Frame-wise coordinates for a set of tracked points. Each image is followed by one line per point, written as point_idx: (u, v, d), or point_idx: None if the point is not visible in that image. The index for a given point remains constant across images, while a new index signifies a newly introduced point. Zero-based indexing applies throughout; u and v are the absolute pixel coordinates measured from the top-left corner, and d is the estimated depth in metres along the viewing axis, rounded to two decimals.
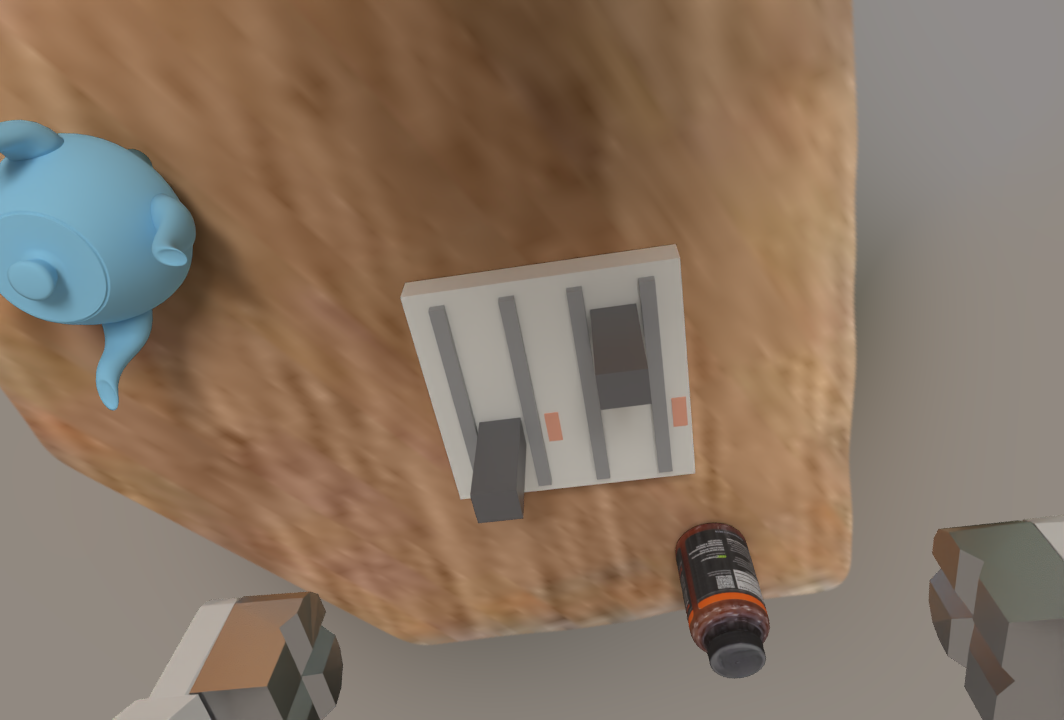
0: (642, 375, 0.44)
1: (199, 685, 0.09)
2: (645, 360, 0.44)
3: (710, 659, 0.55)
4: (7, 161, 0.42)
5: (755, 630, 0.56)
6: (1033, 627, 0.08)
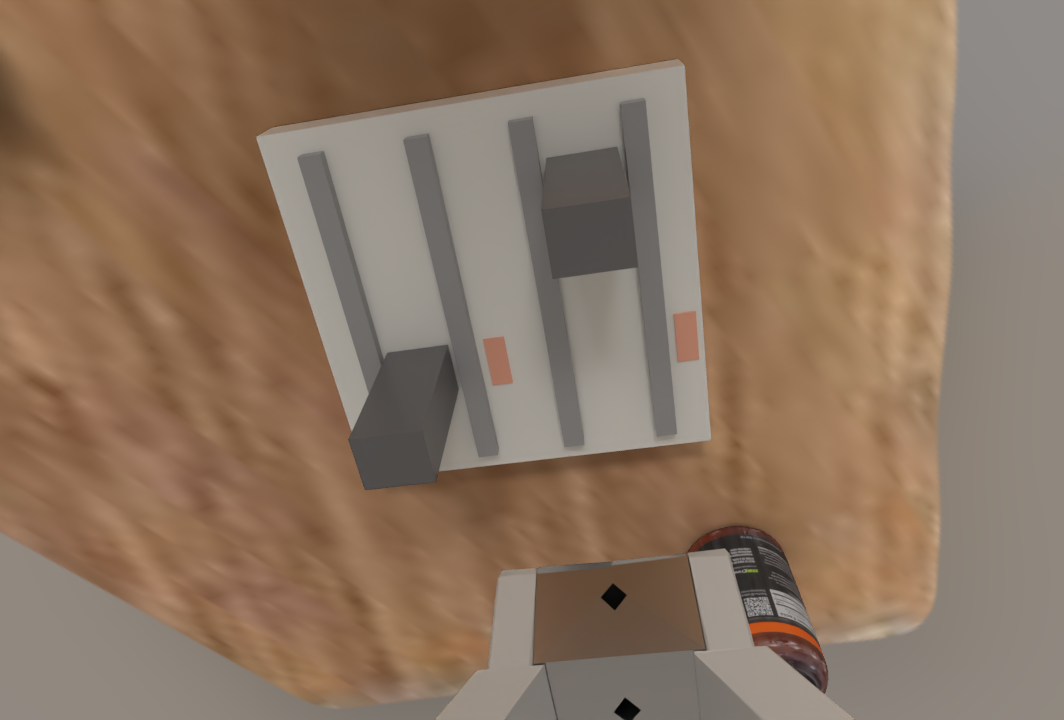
0: (621, 211, 0.26)
1: (540, 655, 0.08)
2: (626, 190, 0.26)
3: None
4: None
5: None
6: (643, 660, 0.08)
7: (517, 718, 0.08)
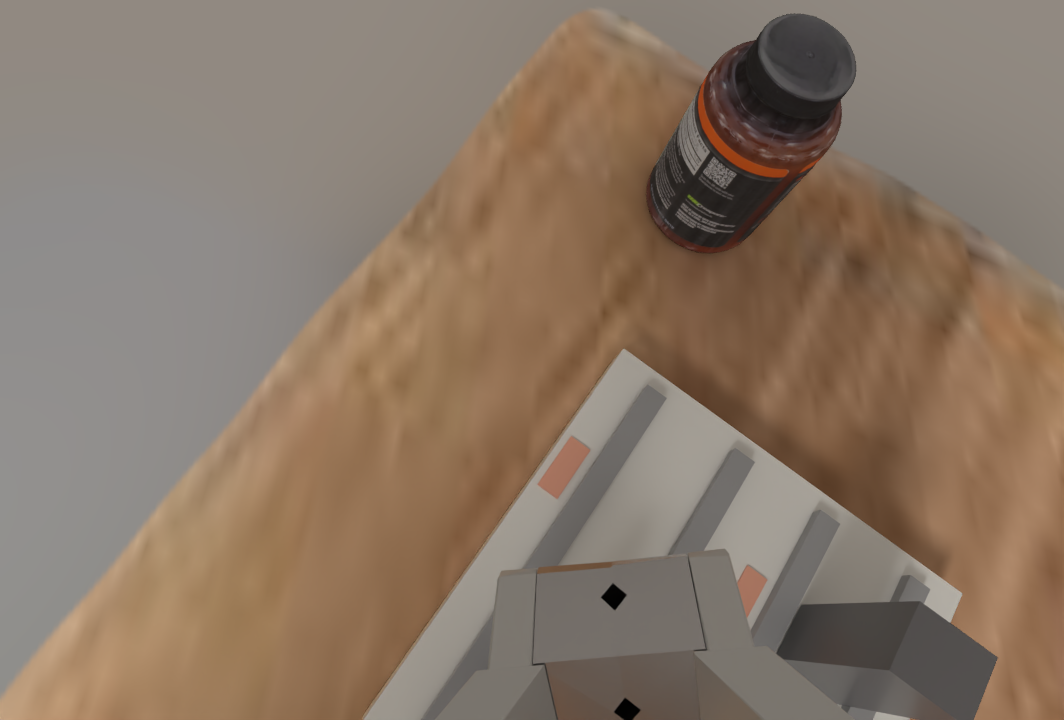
0: None
1: (540, 656, 0.08)
2: None
3: (845, 92, 0.29)
4: None
5: (741, 79, 0.30)
6: (643, 660, 0.08)
7: (517, 718, 0.08)
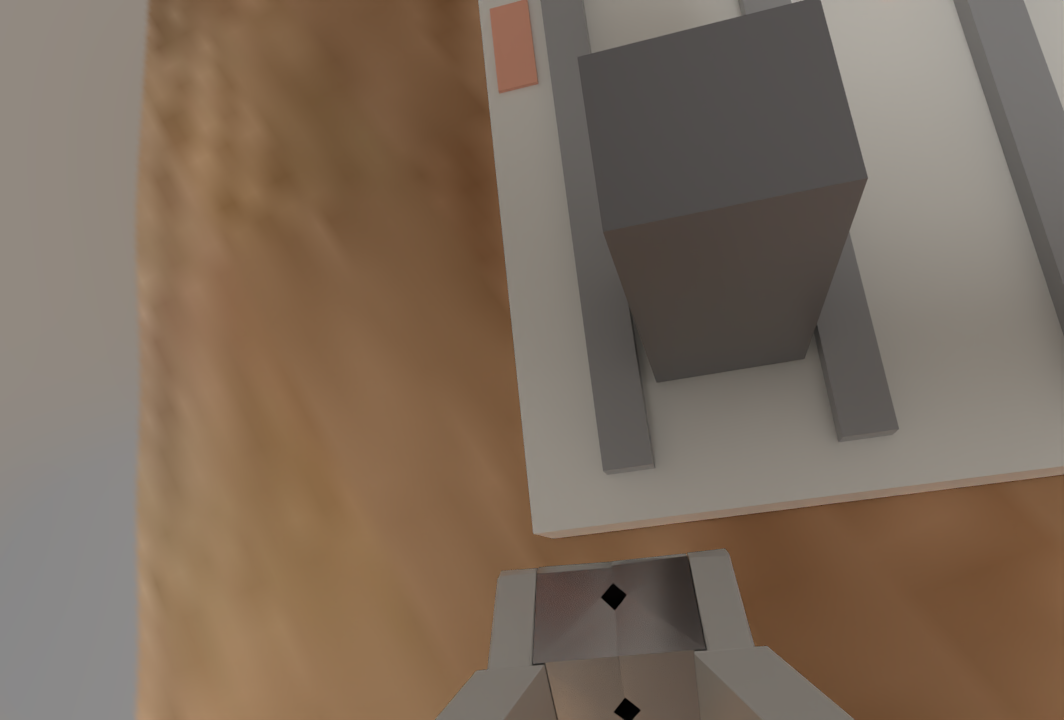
0: (626, 192, 0.09)
1: (540, 656, 0.08)
2: (617, 258, 0.10)
3: None
4: None
5: None
6: (643, 660, 0.08)
7: (517, 718, 0.08)
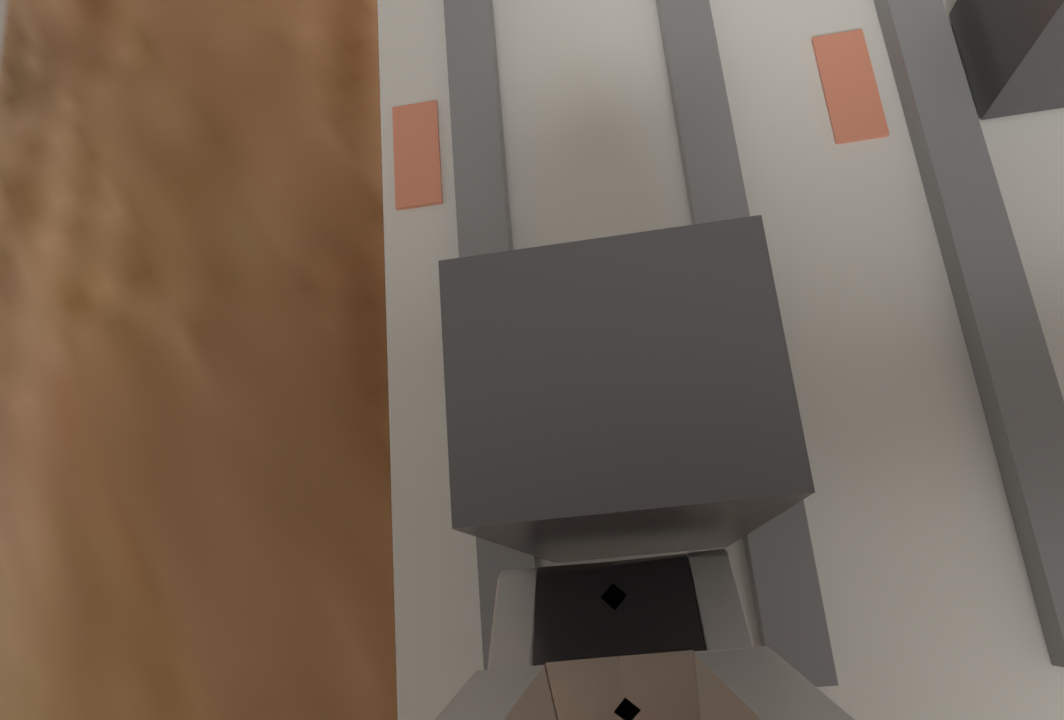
0: (487, 471, 0.07)
1: (540, 655, 0.08)
2: (480, 535, 0.07)
3: None
4: None
5: None
6: (643, 660, 0.08)
7: (517, 718, 0.08)
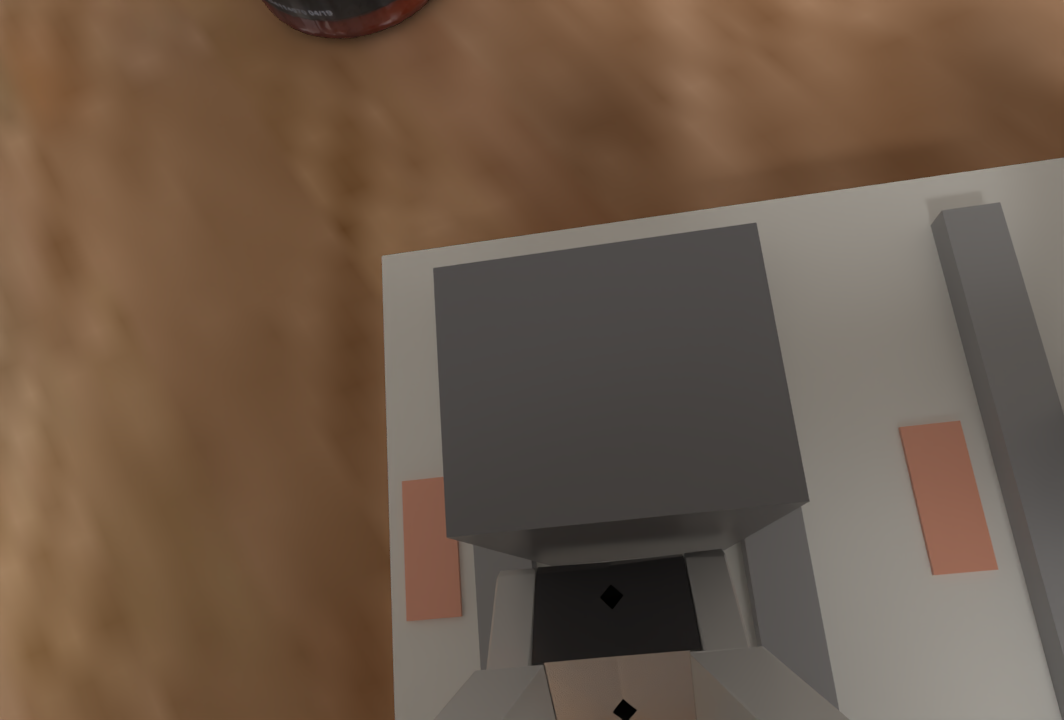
0: (482, 480, 0.07)
1: (538, 655, 0.08)
2: (475, 543, 0.07)
3: None
4: None
5: None
6: (639, 660, 0.08)
7: (516, 718, 0.08)
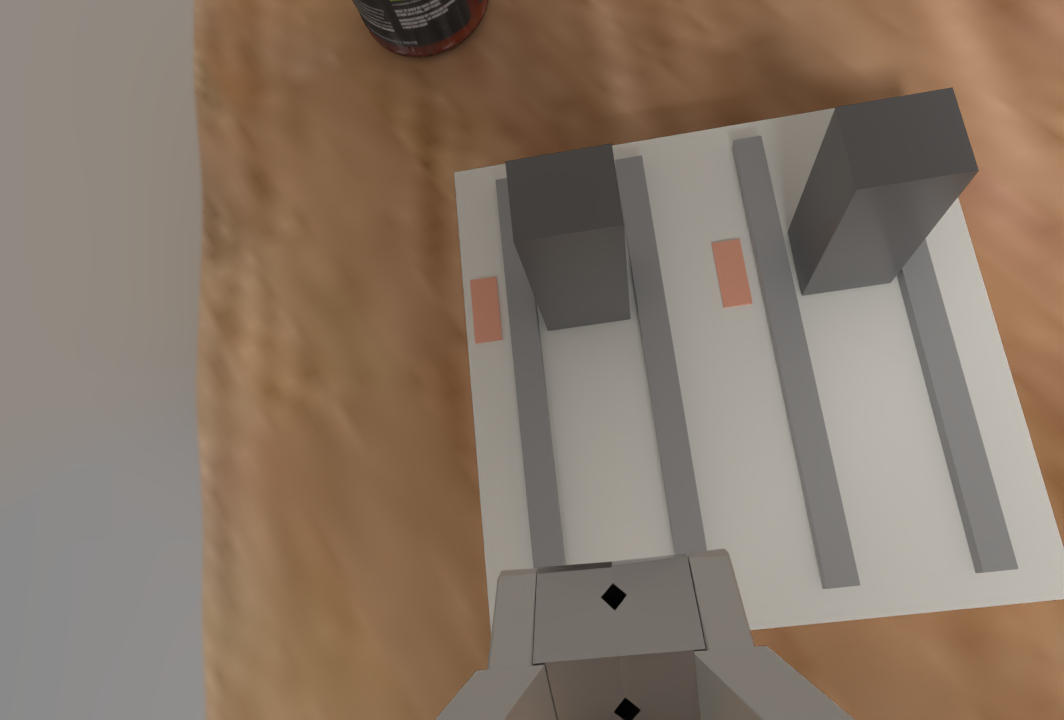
0: (524, 225, 0.21)
1: (540, 655, 0.08)
2: (520, 254, 0.22)
3: None
4: None
5: None
6: (643, 660, 0.08)
7: (517, 718, 0.08)
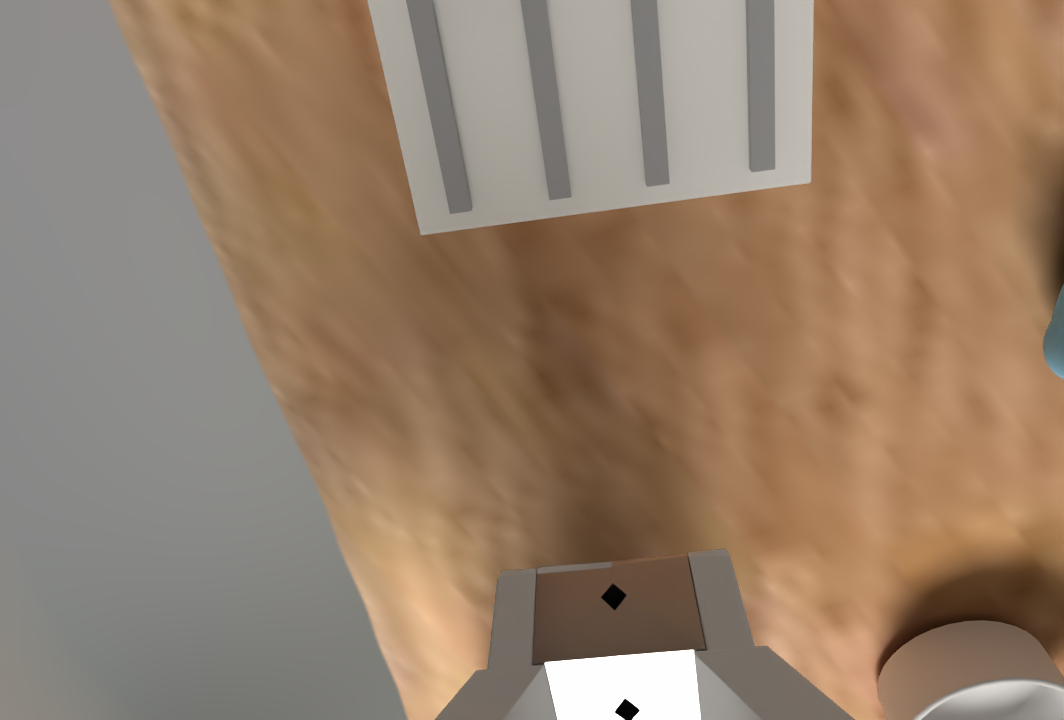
0: None
1: (539, 655, 0.08)
2: None
3: None
4: None
5: None
6: (643, 660, 0.08)
7: (517, 718, 0.08)
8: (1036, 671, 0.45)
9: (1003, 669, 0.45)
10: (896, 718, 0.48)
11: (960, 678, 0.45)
